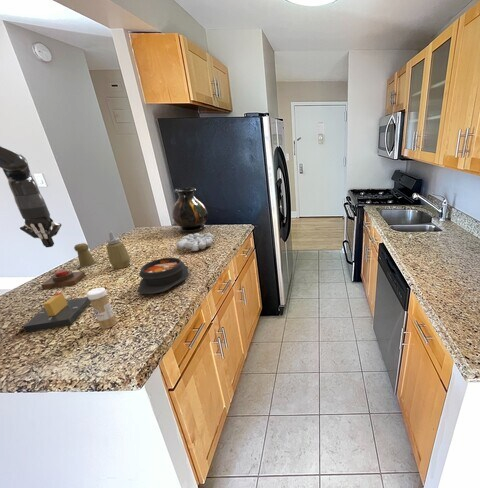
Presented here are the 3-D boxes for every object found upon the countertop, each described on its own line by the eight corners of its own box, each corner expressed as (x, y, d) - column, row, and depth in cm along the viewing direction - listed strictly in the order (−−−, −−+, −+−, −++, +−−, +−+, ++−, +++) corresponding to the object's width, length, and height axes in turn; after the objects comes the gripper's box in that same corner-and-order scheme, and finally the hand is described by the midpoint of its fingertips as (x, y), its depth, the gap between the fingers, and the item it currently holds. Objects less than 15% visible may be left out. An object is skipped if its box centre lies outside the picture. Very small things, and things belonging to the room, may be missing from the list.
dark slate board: (25, 332, 84) (22, 326, 83) (52, 308, 96) (49, 302, 95) (71, 325, 87) (68, 318, 86) (91, 302, 100) (88, 296, 99)
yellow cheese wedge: (55, 315, 88) (48, 302, 86) (48, 316, 88) (42, 303, 86) (67, 304, 94) (62, 292, 92) (61, 305, 94) (56, 292, 92)
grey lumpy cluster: (172, 245, 153) (170, 235, 151) (208, 236, 166) (207, 228, 164) (182, 256, 138) (180, 246, 136) (221, 246, 151) (220, 237, 149)
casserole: (159, 269, 125) (154, 253, 122) (198, 268, 126) (195, 252, 123) (125, 298, 102) (119, 280, 99) (174, 297, 103) (169, 278, 100)
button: (54, 277, 110) (53, 273, 110) (59, 273, 113) (58, 270, 113) (65, 276, 111) (63, 272, 111) (69, 272, 115) (68, 268, 114)
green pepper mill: (94, 265, 129) (86, 245, 125) (78, 268, 126) (70, 247, 122) (97, 260, 134) (89, 241, 130) (81, 263, 131) (73, 243, 127)
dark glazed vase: (207, 233, 173) (199, 191, 162) (172, 236, 168) (161, 193, 157) (211, 223, 192) (205, 185, 182) (179, 226, 187) (171, 187, 176)
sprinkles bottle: (96, 329, 85) (82, 294, 80) (107, 320, 90) (94, 286, 84) (110, 329, 85) (96, 294, 80) (120, 320, 90) (108, 287, 84)
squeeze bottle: (107, 269, 125) (95, 234, 118) (123, 262, 132) (112, 228, 126) (120, 271, 123) (109, 235, 117) (136, 263, 131) (125, 229, 124)
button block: (43, 289, 108) (39, 281, 107) (55, 279, 116) (52, 271, 115) (75, 285, 111) (72, 277, 110) (85, 275, 119) (82, 267, 118)
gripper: (2, 209, 96) (23, 251, 103) (45, 206, 99) (62, 248, 105) (19, 204, 103) (37, 244, 109) (59, 202, 106) (74, 242, 112)
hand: (49, 246), depth 107 cm, fingers closed
